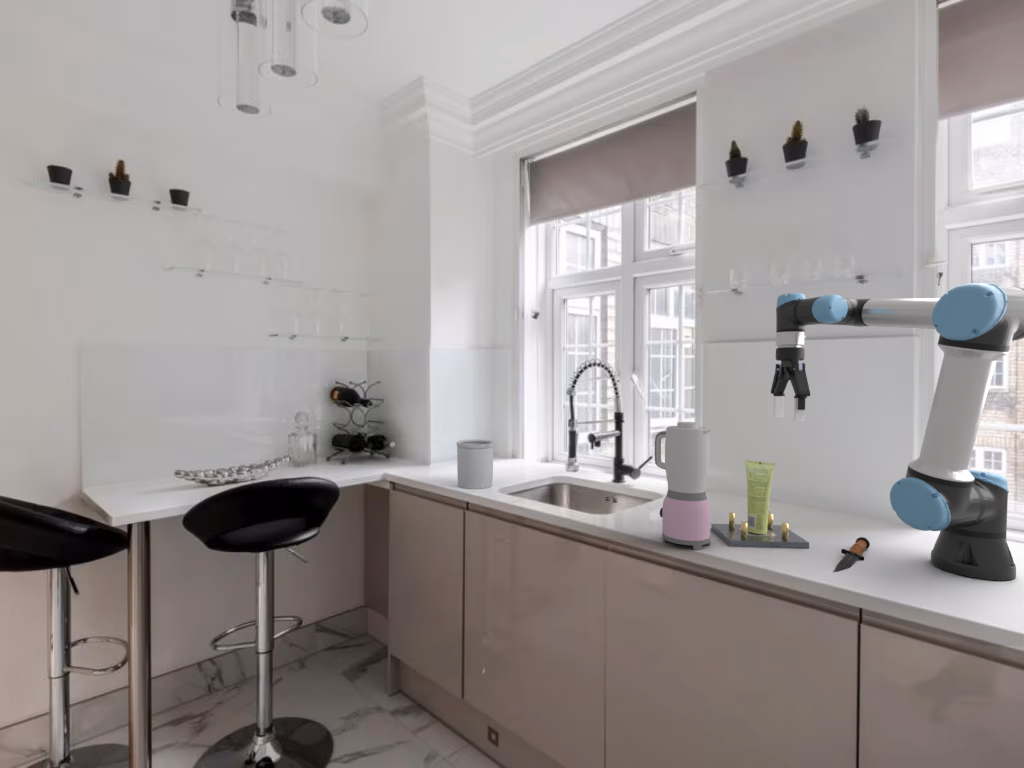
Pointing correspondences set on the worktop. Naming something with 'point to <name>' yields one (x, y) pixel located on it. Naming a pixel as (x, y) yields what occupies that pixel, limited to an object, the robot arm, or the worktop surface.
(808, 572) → the worktop surface
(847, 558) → the knife
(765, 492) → the tube
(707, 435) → the blender
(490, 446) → the utensil holder
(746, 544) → the plate
